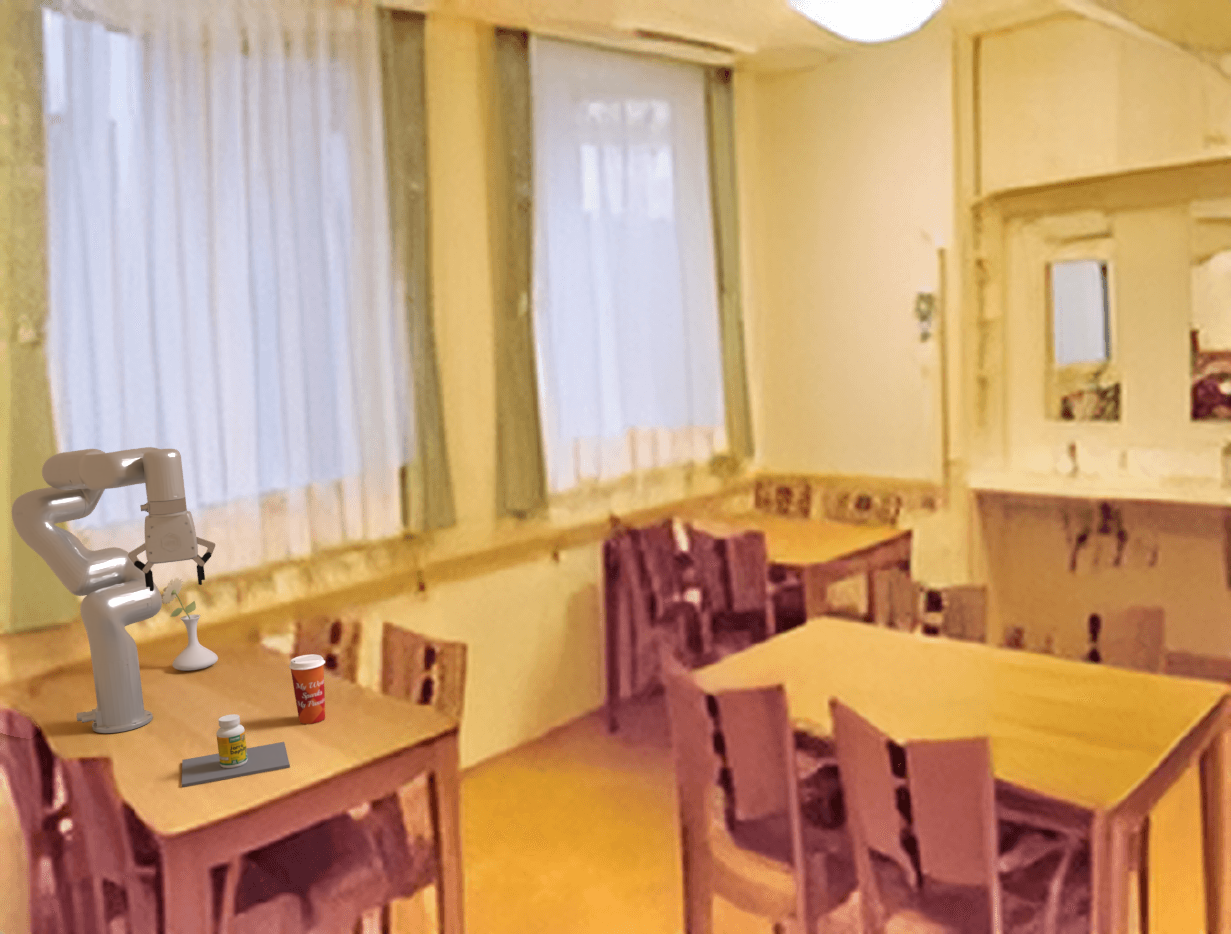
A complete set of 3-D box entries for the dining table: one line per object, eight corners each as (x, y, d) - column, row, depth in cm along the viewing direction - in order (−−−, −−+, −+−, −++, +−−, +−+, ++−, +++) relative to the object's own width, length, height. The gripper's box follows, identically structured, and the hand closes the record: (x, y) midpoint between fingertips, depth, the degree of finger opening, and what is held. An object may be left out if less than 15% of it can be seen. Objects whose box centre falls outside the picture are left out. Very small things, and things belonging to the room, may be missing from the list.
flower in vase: (202, 659, 304) (192, 568, 301) (227, 664, 297) (217, 572, 294) (158, 672, 294) (147, 579, 291) (183, 678, 287) (173, 583, 284)
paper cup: (298, 728, 244) (292, 666, 242) (291, 718, 251) (285, 658, 249) (334, 720, 247) (328, 659, 246) (326, 711, 254) (320, 651, 253)
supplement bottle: (236, 757, 227) (231, 711, 226) (253, 761, 225) (249, 715, 223) (214, 766, 223) (209, 720, 222) (231, 770, 220) (226, 723, 219)
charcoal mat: (182, 787, 215) (181, 784, 215) (182, 762, 228) (182, 759, 228) (289, 767, 222) (289, 764, 221) (284, 744, 235) (284, 741, 235)
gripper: (121, 514, 230) (131, 596, 232) (211, 505, 236) (219, 584, 238) (124, 510, 237) (133, 589, 239) (210, 501, 243) (218, 578, 245)
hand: (176, 587), depth 238 cm, fingers open, 9 cm apart
